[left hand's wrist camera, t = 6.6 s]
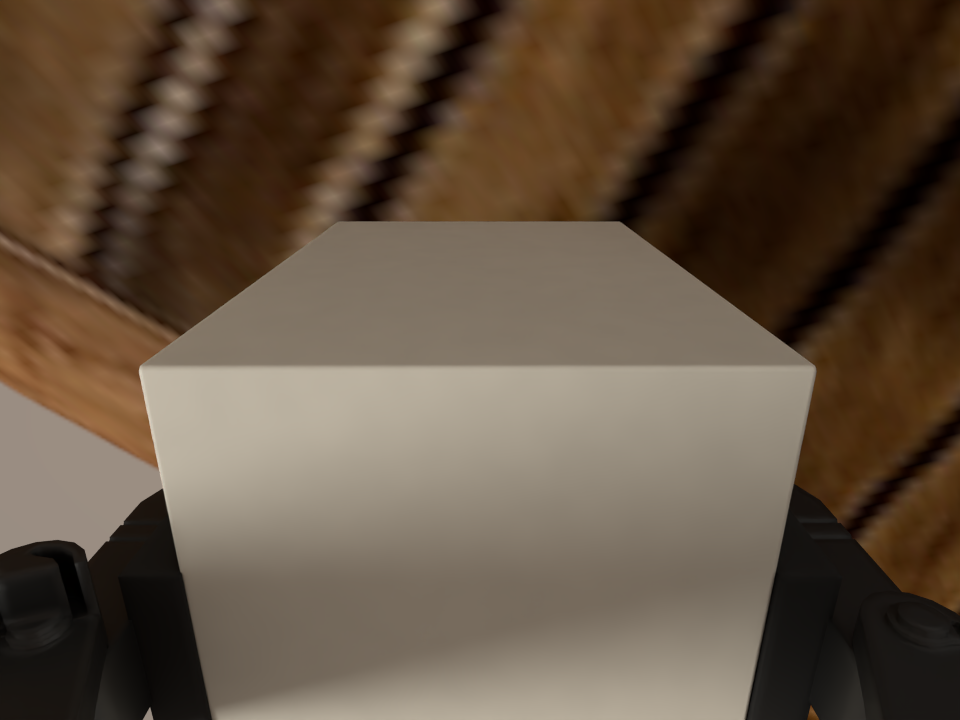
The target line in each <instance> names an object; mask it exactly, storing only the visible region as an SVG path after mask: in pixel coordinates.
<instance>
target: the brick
mask: <svg viewBox="0 0 960 720" xmlns="http://www.w3.org/2000/svg"><path fill="white" fill-rule="evenodd" d="M139 374H140V379H141V384H142V389H143V394H144V398H145V403H146V408H147V413H148V418H149V423H150V427H151V432H152V437H153V442H154V447H155V452H156V457H157V461H158V466H159V471H160V476H161V481H162V486H163V491H164V495H165V500H166V505H167V510H168V515H169V520H170V524H171V529H172V534H173V539H174V544H175V549H176V554H177V558H178V563H179V568H180V572H181V573H182V576H183V581H184V586H185V591H186V596H187V600H188V605H189V610H190V615H191V620H192V625H193V630H194V635H195V639H196V644H197V649H198V654H199V659H200V664H201V669H202V674H203V678H204V683H205V688H206V693H207V698H208V703H209V708H210V713H211V717H212V720H746V716H747V711H748V706H749V701H750V696H751V691H752V686H753V681H754V676H755V671H756V666H757V662H758V657H759V652H760V647H761V642H762V637H763V632H764V627H765V622H766V617H767V612H768V607H769V603H770V598H771V593H772V588H773V583H774V578H775V573H776V568H777V563H778V558H779V553H780V548H781V544H782V539H783V534H784V529H785V524H786V519H787V514H788V509H789V504H790V499H791V494H792V489H793V484H794V480H795V475H796V470H797V465H798V460H799V455H800V450H801V445H802V440H803V435H804V430H805V425H806V421H807V416H808V411H809V406H810V401H811V396H812V391H813V386H814V381H815V376H816V367H815V365H813V364H812V363H810V362H809V361H808V360H806V359H805V358H804V357H802V356H801V355H800V354H798V353H797V352H796V351H794V350H793V349H792V348H790V347H789V346H787V345H786V344H785V343H783V342H782V341H781V340H779V339H778V338H777V337H775V336H774V335H773V334H771V333H770V332H769V331H767V330H766V329H764V328H763V327H762V326H760V325H759V324H758V323H756V322H755V321H754V320H752V319H751V318H750V317H748V316H747V315H745V314H744V313H743V312H741V311H740V310H739V309H737V308H736V307H735V306H733V305H732V304H731V303H729V302H728V301H727V300H725V299H724V298H722V297H721V296H720V295H718V294H717V293H716V292H714V291H713V290H712V289H710V288H709V287H708V286H706V285H705V284H704V283H702V282H701V281H699V280H698V279H697V278H695V277H694V276H693V275H691V274H690V273H689V272H687V271H686V270H685V269H683V268H682V267H681V266H679V265H678V264H676V263H675V262H674V261H672V260H671V259H670V258H668V257H667V256H666V255H664V254H663V253H662V252H660V251H659V250H657V249H656V248H655V247H653V246H652V245H651V244H649V243H648V242H647V241H645V240H644V239H643V238H641V237H640V236H639V235H637V234H636V233H634V232H633V231H632V230H630V229H629V228H628V227H626V226H625V225H624V224H622V223H621V222H337V223H336V224H335V225H333V226H332V227H330V228H329V229H328V230H326V231H325V232H324V233H322V234H321V235H319V236H318V237H317V238H315V239H314V240H313V241H311V242H310V243H308V244H307V245H306V246H304V247H303V248H302V249H300V250H299V251H297V252H296V253H295V254H293V255H292V256H291V257H289V258H288V259H286V260H285V261H284V262H282V263H281V264H280V265H278V266H277V267H275V268H274V269H273V270H271V271H270V272H269V273H267V274H266V275H264V276H263V277H262V278H260V279H259V280H258V281H256V282H255V283H254V284H252V285H251V286H249V287H248V288H247V289H245V290H244V291H243V292H241V293H240V294H238V295H237V296H236V297H234V298H233V299H232V300H230V301H229V302H227V303H226V304H225V305H223V306H222V307H221V308H219V309H218V310H216V311H215V312H214V313H212V314H211V315H210V316H208V317H207V318H205V319H204V320H203V321H201V322H200V323H199V324H197V325H196V326H194V327H193V328H192V329H190V330H189V331H188V332H186V333H185V334H183V335H182V336H181V337H179V338H178V339H177V340H175V341H174V342H172V343H171V344H170V345H168V346H167V347H166V348H164V349H163V350H161V351H160V352H159V353H157V354H156V355H155V356H153V357H152V358H150V359H149V360H148V361H146V362H145V363H144V364H142V365H141V366H140V369H139Z"/></svg>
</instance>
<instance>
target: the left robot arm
mask: <svg viewBox="0 0 960 720" xmlns="http://www.w3.org/2000/svg"><path fill="white" fill-rule="evenodd" d="M811 705H812V707H813V709H814V711H815V712H816V714H817V716H818V718H819V720H960V616H959V615H958V614H956V613H955V612H953V611H951V610H949V609H948V608H946V607H944V606H942V605H940V604H938V603H936V602H934V601H932V600H929V599H926V598H923V597H920V596H917V595H914V594H911V593H905V592H901V591H900V589H899V588H898V587H897V586H896V585H895V584H894V583H893V582H892V580H891V579H890V578H889V577H888V576H887V575H886V574H885V573H884V571H883V570H882V569H881V568H880V567H879V566H878V565H877V564H876V562H875V561H874V560H873V559H872V558H871V557H870V556H869V555H868V553H867V552H866V551H865V550H864V549H863V548H862V547H861V546H860V544H859V543H858V542H857V541H856V540H855V539H852V538H851V534H850V533H849V532H848V531H847V530H846V529H845V528H844V527H843V525H842V524H841V523H837V519H836V518H835V516H834V515H833V514H832V513H831V512H830V511H829V510H828V509H827V507H826V506H825V505H824V504H823V503H822V502H821V501H820V500H819V499H817V498H816V497H814V496H813V495H811V494H809V493H808V492H806V491H805V490H803V489H801V488H800V487H798V486H797V485H795V484H793V489H792V494H791V499H790V504H789V509H788V514H787V519H786V524H785V529H784V534H783V539H782V544H781V548H780V553H779V558H778V563H777V568H776V573H775V578H774V583H773V588H772V593H771V598H770V603H769V607H768V612H767V617H766V622H765V627H764V632H763V637H762V642H761V647H760V652H759V657H758V662H757V666H756V671H755V676H754V681H753V686H752V691H751V696H750V701H749V706H748V711H747V716H746V720H807V718H808V714H809V710H810V706H811ZM149 708H151V712H152V716H153V720H212V717H211V713H210V708H209V703H208V698H207V693H206V688H205V683H204V678H203V674H202V669H201V664H200V659H199V654H198V649H197V644H196V639H195V635H194V630H193V625H192V620H191V615H190V610H189V605H188V600H187V596H186V591H185V586H184V581H183V576H182V573H181V572H180V568H179V563H178V558H177V554H176V549H175V544H174V539H173V534H172V529H171V524H170V520H169V515H168V510H167V505H166V500H165V495H164V491H163V489H161V490H160V491H158V492H156V493H155V494H153V495H152V496H150V497H148V498H147V499H145V500H144V501H142V502H141V503H140V504H139V505H138V506H137V507H136V508H135V509H134V511H133V512H132V513H131V514H130V515H129V516H128V517H127V518H126V520H125V521H124V525H120V526H119V528H118V529H117V530H116V531H115V532H114V533H113V534H112V535H111V537H110V541H109V542H105V543H104V545H103V546H102V547H101V548H100V549H99V550H98V551H97V552H96V554H95V555H94V556H93V557H92V558H91V559H90V560H89V561H87V558H86V554H85V550H84V549H83V548H81V547H80V546H79V545H77V544H76V543H74V542H67V541H61V540H53V541H43V542H35V543H31V544H28V545H25V546H21V547H18V548H14V549H11V550H9V551H6V552H4V553H2V554H0V720H143V718H144V716H145V715H146V713H147V711H148V709H149Z"/></svg>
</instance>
